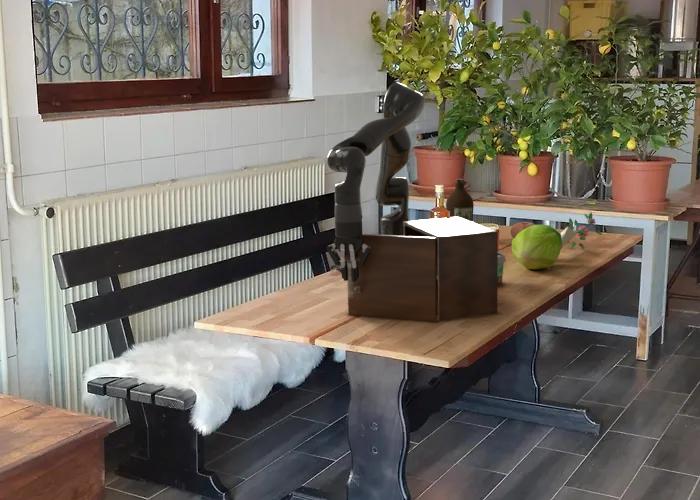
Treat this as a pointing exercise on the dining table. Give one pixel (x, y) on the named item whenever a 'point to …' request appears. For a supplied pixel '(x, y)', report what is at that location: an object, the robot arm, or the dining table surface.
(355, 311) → the door
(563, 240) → the flower vase
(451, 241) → the cupboard
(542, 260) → the lettuce
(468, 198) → the olive oil
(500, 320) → the dining table surface
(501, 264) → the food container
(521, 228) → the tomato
